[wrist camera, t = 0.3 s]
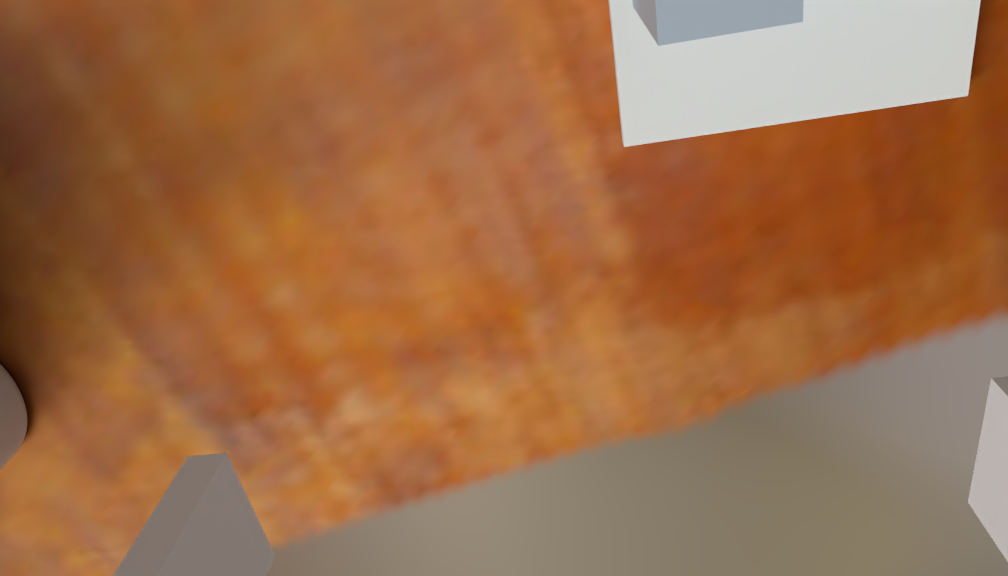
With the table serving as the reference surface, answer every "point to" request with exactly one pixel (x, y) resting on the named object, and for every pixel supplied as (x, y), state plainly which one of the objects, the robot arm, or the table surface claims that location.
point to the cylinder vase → (10, 417)
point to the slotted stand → (781, 60)
